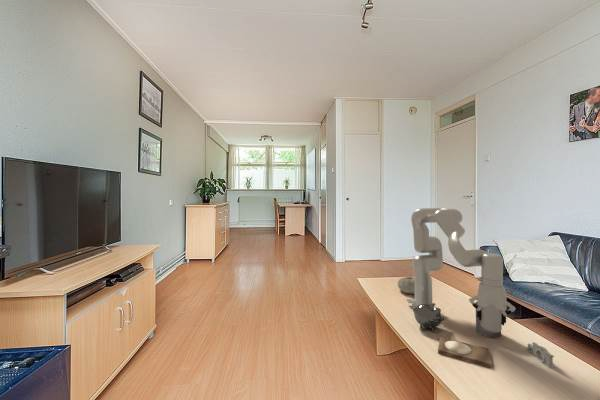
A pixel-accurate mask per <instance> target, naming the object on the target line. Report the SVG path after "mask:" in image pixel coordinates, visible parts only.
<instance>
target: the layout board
mask: <svg viewBox="0 0 600 400" xmlns="http://www.w3.org/2000/svg"><path fill="white" fill-rule="evenodd" d="M437 353H438V354H439V355H444V356H447V357H450V358H455V359H458V360H461V361H465V362H469V363H473V364H475V365H478V366H484V367H486V368H492V362H491V354H490V349H489V348H488V347H484V346H480V345H476V344H472V343H468V342H465V341H459V340H457V339H456V340H455V339H452V338H451V339H450V338H447V337H443V336H439V341H438V348H437Z"/></svg>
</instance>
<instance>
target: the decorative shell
mask: <svg viewBox="0 0 600 400" xmlns="http://www.w3.org/2000/svg"><path fill="white" fill-rule="evenodd" d="M397 287H398V289H399V290H400V291H401V292H403V293H405V294H411V295H415V287H414V277H413V276H405V277H401V278H399V279H398V281H397Z"/></svg>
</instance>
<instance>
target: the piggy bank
mask: <svg viewBox="0 0 600 400" xmlns="http://www.w3.org/2000/svg"><path fill="white" fill-rule="evenodd" d="M412 312H413V315H414V319H415V321H416V322H417V323H418V324H419V325H420V326H421V327H422V330H424V331H426V330H427V329H428V328H431V330H432V331H436V330H437V327H438V326H440V325H441V324H442V323H443V322H444V321H445V316H444V315H443V314H442V313H441V312H442V309H441V308H440V307H437V306H436V303H434V302H432V303H431V304H419V305H417V306H416V307H415V308H412Z"/></svg>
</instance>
